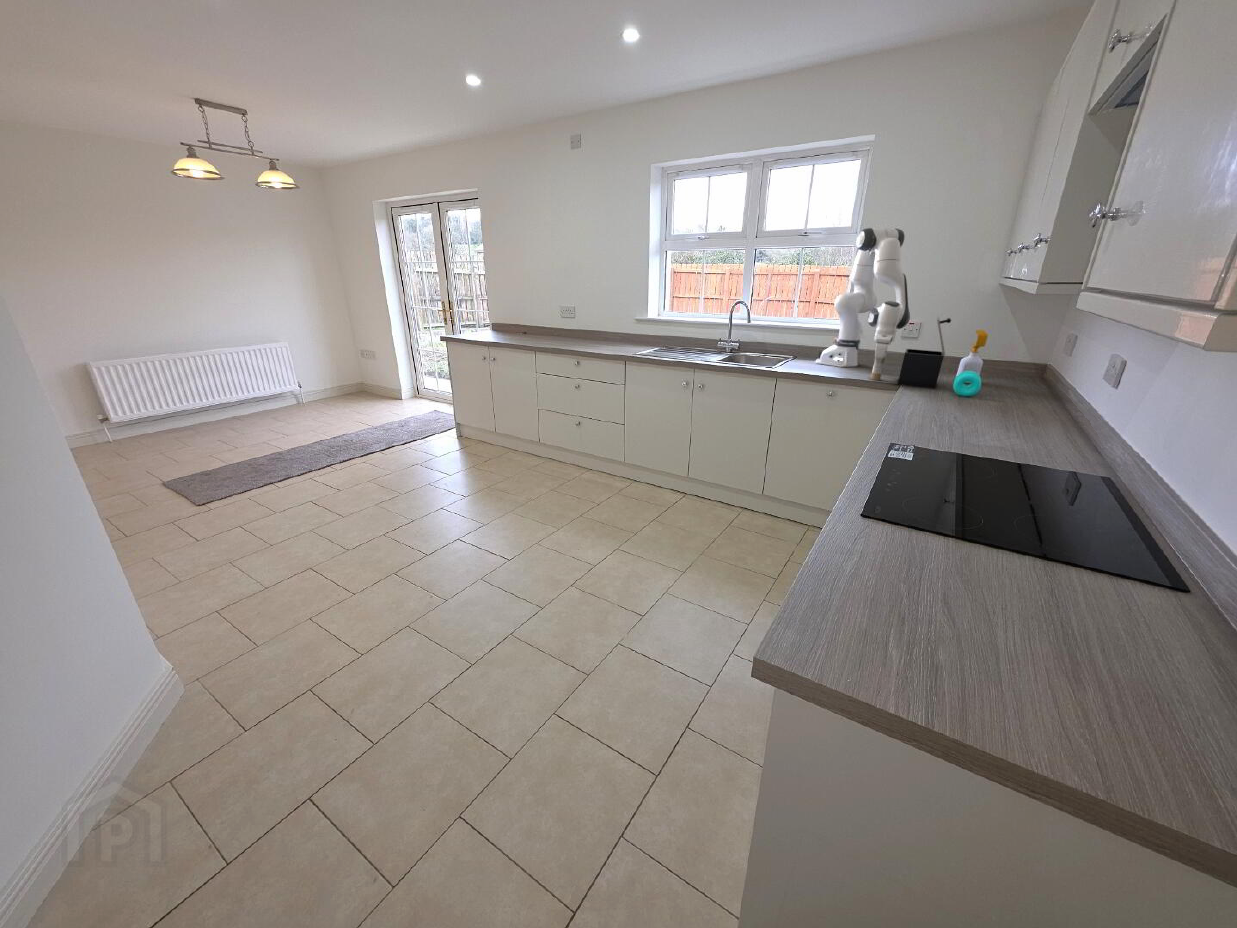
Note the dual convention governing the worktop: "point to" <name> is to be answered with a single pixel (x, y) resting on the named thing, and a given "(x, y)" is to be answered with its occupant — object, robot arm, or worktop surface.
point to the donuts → (970, 389)
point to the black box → (920, 368)
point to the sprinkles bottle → (877, 370)
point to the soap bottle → (974, 355)
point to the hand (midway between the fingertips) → (878, 365)
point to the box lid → (941, 331)
